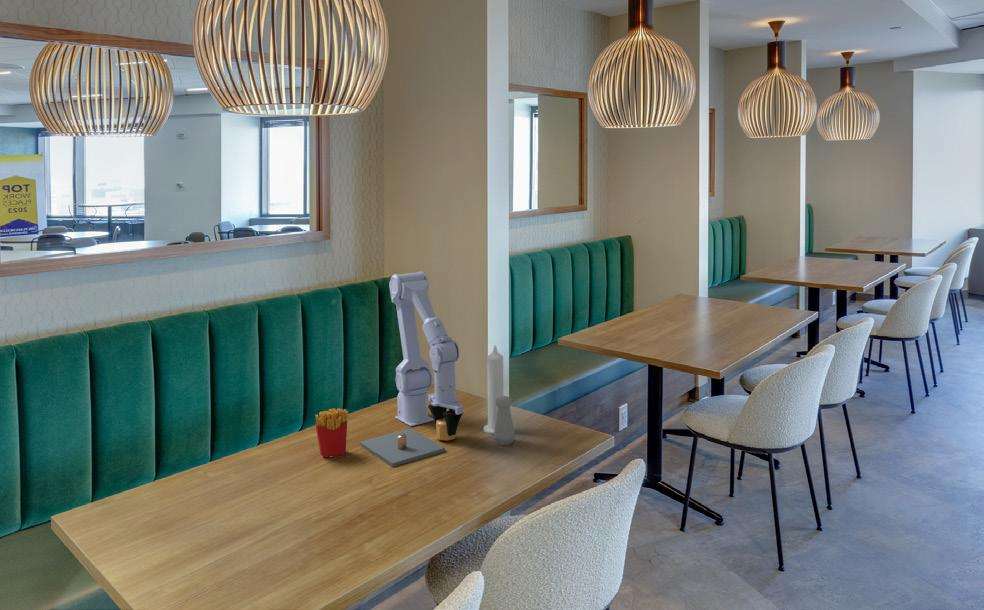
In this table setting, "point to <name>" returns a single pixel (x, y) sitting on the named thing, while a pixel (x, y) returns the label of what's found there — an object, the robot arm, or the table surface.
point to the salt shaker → (504, 422)
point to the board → (393, 456)
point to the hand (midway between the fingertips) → (446, 431)
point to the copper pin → (402, 441)
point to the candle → (494, 387)
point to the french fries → (332, 432)
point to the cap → (442, 430)
